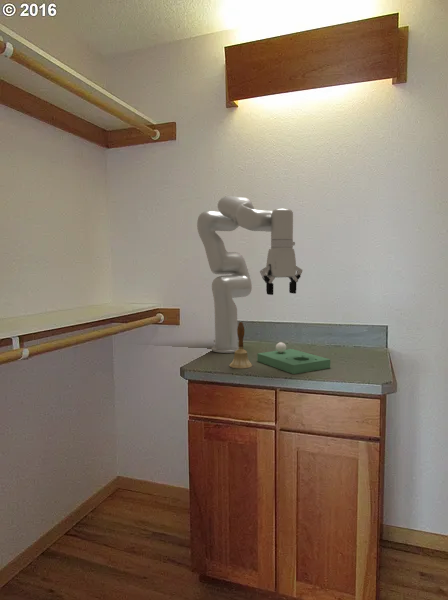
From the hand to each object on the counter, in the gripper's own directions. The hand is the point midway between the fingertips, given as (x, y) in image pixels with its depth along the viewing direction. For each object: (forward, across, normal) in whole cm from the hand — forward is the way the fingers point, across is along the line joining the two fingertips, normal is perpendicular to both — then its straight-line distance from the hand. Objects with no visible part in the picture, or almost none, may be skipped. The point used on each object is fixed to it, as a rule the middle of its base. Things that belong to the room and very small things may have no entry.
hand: (281, 293), depth 153 cm
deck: (+26, -5, 0) cm, 26 cm away
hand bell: (+26, +12, -7) cm, 30 cm away
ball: (+21, -4, -6) cm, 22 cm away
